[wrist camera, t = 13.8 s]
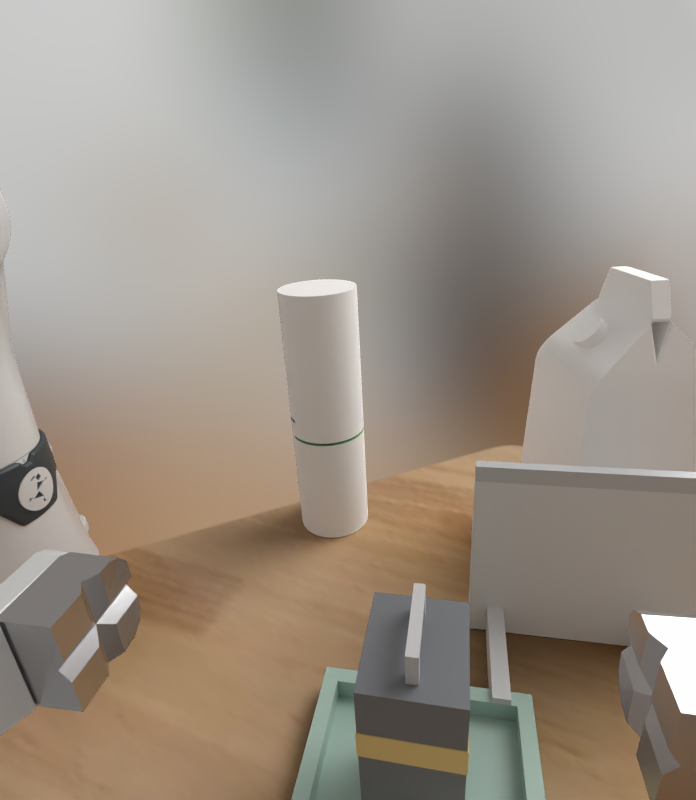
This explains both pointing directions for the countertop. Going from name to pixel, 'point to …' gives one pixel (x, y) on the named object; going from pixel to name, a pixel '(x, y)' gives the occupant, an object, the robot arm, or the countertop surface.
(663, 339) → the milk
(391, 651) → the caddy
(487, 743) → the tray
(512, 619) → the dock
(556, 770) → the countertop surface
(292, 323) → the cylindrical container
